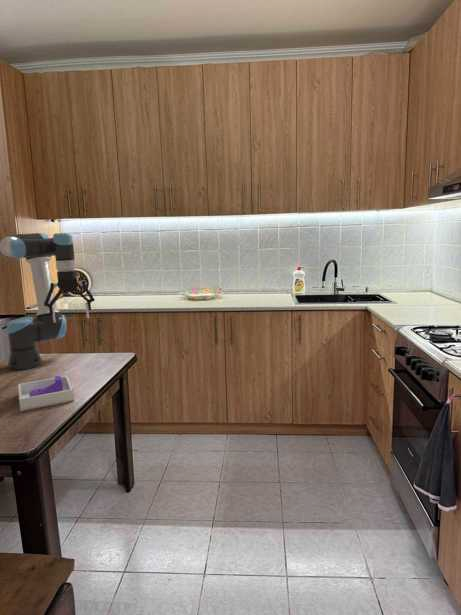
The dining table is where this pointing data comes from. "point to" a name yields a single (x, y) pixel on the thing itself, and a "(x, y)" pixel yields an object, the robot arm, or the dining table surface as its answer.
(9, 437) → the dining table surface
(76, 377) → the dining table surface
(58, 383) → the bracket
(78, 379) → the dining table surface
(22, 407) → the bin
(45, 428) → the dining table surface
